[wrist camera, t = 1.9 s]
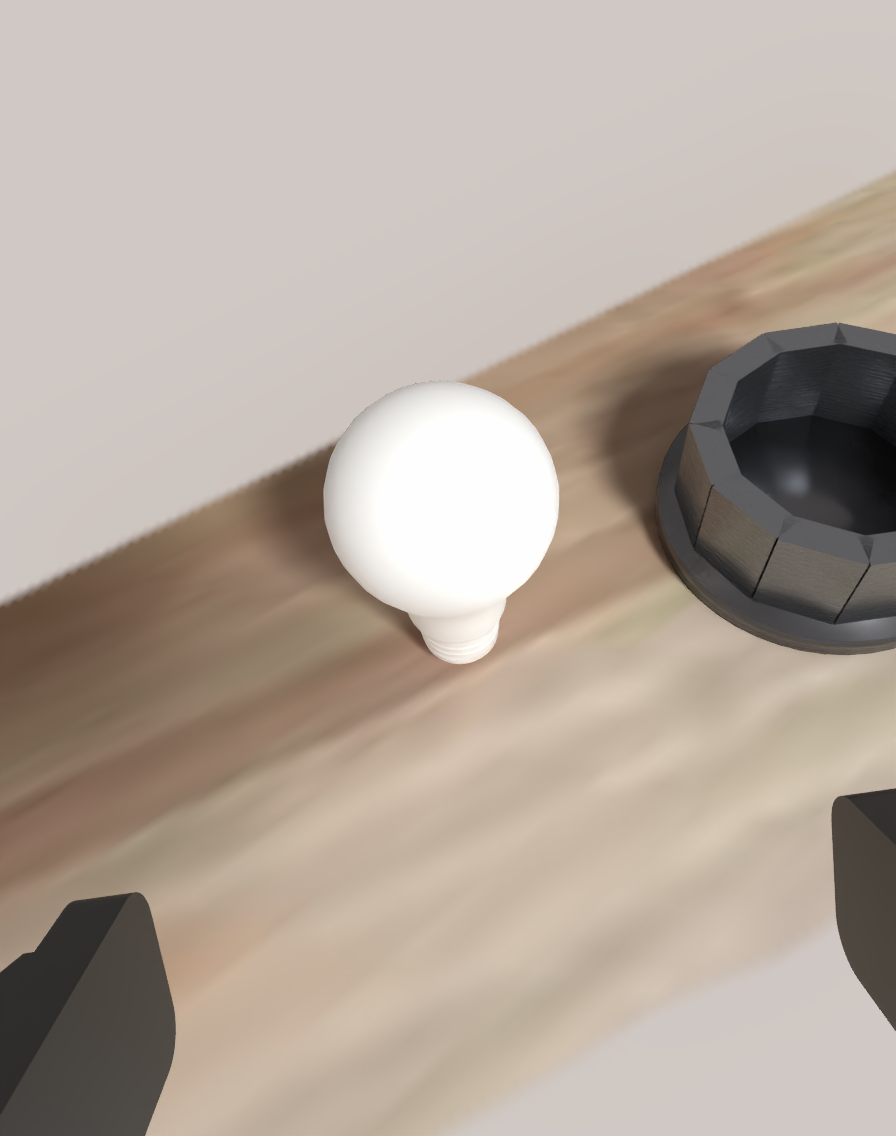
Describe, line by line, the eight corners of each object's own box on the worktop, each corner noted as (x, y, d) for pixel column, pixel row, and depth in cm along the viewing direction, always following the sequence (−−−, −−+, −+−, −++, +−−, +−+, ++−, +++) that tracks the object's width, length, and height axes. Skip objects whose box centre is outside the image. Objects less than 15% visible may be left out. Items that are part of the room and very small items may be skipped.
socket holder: (903, 384, 33) (951, 291, 29) (1041, 629, 27) (1123, 552, 24) (625, 423, 33) (636, 336, 30) (701, 677, 27) (728, 607, 24)
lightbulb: (414, 546, 31) (364, 309, 22) (575, 592, 30) (595, 357, 20) (343, 692, 28) (251, 488, 19) (518, 751, 27) (511, 561, 17)
